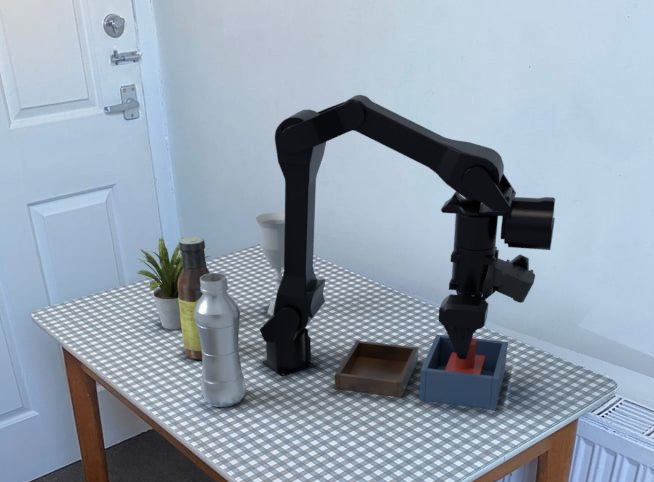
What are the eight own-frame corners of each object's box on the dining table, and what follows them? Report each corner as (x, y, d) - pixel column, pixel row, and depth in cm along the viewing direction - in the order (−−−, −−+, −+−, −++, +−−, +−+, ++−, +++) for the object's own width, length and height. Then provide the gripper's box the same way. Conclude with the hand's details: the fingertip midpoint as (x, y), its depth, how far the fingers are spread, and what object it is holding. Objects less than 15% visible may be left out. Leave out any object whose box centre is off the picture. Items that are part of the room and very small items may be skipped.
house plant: (192, 347, 137) (182, 257, 129) (122, 338, 141) (108, 250, 133) (225, 315, 148) (218, 230, 140) (160, 307, 153) (149, 225, 144)
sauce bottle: (215, 362, 131) (203, 248, 122) (179, 360, 133) (165, 246, 123) (226, 345, 137) (215, 234, 127) (192, 343, 138) (179, 233, 128)
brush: (477, 398, 117) (480, 353, 113) (442, 394, 118) (444, 349, 115) (483, 375, 123) (487, 332, 119) (450, 371, 125) (453, 328, 121)
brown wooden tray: (334, 391, 121) (334, 374, 120) (356, 356, 132) (356, 340, 130) (401, 400, 118) (401, 382, 117) (417, 363, 129) (418, 347, 127)
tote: (419, 403, 117) (420, 369, 115) (434, 365, 128) (436, 334, 125) (495, 413, 114) (498, 379, 111) (504, 373, 125) (508, 341, 122)
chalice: (306, 308, 150) (303, 215, 141) (286, 321, 145) (282, 226, 136) (274, 301, 153) (269, 210, 144) (254, 314, 148) (247, 220, 139)
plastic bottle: (203, 392, 123) (189, 270, 113) (246, 389, 123) (236, 267, 113) (202, 414, 117) (187, 287, 107) (247, 410, 117) (237, 284, 107)
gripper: (528, 272, 100) (516, 380, 107) (539, 227, 115) (528, 325, 123) (440, 265, 103) (435, 371, 111) (462, 222, 118) (456, 318, 126)
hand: (467, 345), depth 117 cm, fingers open, 9 cm apart
